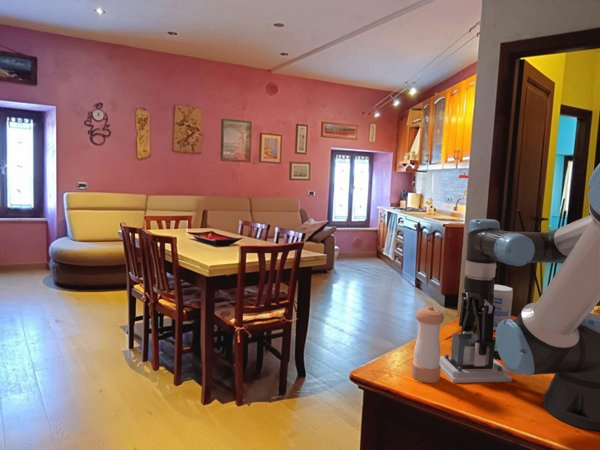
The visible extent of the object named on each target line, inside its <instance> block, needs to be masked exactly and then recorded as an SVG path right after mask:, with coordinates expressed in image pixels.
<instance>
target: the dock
mask: <svg viewBox="0 0 600 450" xmlns="http://www.w3.org/2000/svg"><path fill="white" fill-rule="evenodd" d="M439 364H440V366H441V369H440V371H442V372H443V374H445V376H446V377H447V378H448V379H449V380H450V381H451V382H452V383H454V384H455V383H457V384H458V383H503V382H504V383H507V382H508V383H509V382H510V383H511V382H512V381H513V377H511V376H510V372H511V371H510V370H509V369H508V368H507V367H506V366H505V365H504V364H503V365H502V364H501V363H500V362H499V361H497V360H496V358H494V361H493V369H462V367H460V366H459V367H458V369H456V368H455V367H454V366H453V365H452V364H451V356H450V355H449V354H444V356H443V355H440V362H439Z"/></svg>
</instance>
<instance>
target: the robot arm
mask: <svg viewBox="0 0 600 450" xmlns="http://www.w3.org/2000/svg"><path fill="white" fill-rule="evenodd" d="M588 188H590V190H589V191H588V192H587V197H588V202H589V204H590V205H589V207H588V212H589V215H586V216H585V217H582V218H580V219H577V220H575V221H572V222H570V223H569V224H566V225H563V226H561V227H559V228H557V229H554V230H551V231H548V232H546V231H544V232H542V231H539V232H538V231H534V232H533V231H531V232H530V231H508V230H507V231H506V230H501V228H500V222H499V221H498V220H497V219H492V218H491V219H489V218H472V219H470V221H469V225H468V230H467V231H468V232H467V238H466V239H467V240H466V242H467V243H466V254H465V255H466V259H465V266H464V267H465V268H464V275H465V276H464V282H463V289H464V291H465V290H466V291H468V293H465V292H462V293H461V306H460V312H459V320H458V326H459V327H462V331H463V334H473V332H470V331H474V329H473V324H474V321H475V317H476V323H477V335H478V341H475V342H476V345H475V357H474V366H485V360H486V350H487V343H493V338H494V330H493V327H494V312H495V306H494V305H490V304H489V295H490V294H492V293H493V292H494V284H495V282H496V281H495V279H494V278H495V277H496V269H497V261H498V262H501V263H503V264H505V265H509V266H515V267H522V266H524V265H527V264H531V263H532V264H534V263H538V264H539V263H540V264H541V263H543V264H544V263H546V264H547V263H549V264H550V263H551V264H555V263H556V264H561V266H560V267H559V269H558V270H557V272H556V273H555V274H554V276H553V278H552V279H551V280H550V282H549V284H548V285H547V287H546V288H545V290H544V291H543V292H542V294H541V295H540V297H539V298H538V300H537V301H536V302H531V303H530V302H529V303H528V304H526V305H525V306H524V307H523V308H522V310H521V311H520V313H519V314H518V315H517V317H515V318H514V319H512V318H510V319H507V320H503V321H501V322H500V323H499V325H498V327H497V330H496V331H495V340H496V344H497V349H498V353H499V355H500V358H501V359H500V360H501V361H502V363H503V366H504V367H505V368H506V369H508V370H509V371H510V372H511V373H514V374H516V375H521V376H522V375H526V376H530V377H531V376H533V375H534V376H536V375H552V374H553V378H552V379H551V382H550V383H549V385H548V387H547V390H546V391H545V392H544V395H543V402H542V403H543V404H542V405H543V407H544V409H545V410H546V411H547V412H548V413H549V414H550V415H551V416H553V417H554V418H556V419H558V420H560V421H562V422H563V423H566V424H569V425H572V426H574V427H578V428H581V429H584V430H590V431H596V432H600V315H598V314H595V313H592V311H593V309H594V308H595V307H596V305H598V303H599V302H600V163H598V165H597V166H596V167H595V169H594V170H593V171H592V174H591V175H590V178H589V182H588ZM495 285H496V284H495ZM478 312H482V313H478Z"/></svg>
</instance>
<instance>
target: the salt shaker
mask: <svg viewBox="0 0 600 450" xmlns="http://www.w3.org/2000/svg"><path fill="white" fill-rule="evenodd" d="M415 317H416V320H417V322H418V326H417V338H416V342H415V346H414V349H413V361H412V363H411V377H412V378H413V379H415V380H416V381H418V382H422V383H427V384H429V383H430V384H434V383H437V382H439V381H440V380H441V366H440V364H439V362H440V356H441V344H440V332H441V331H440V330H441V324H442V323H443V322H444V320H445V316H444V314H443V312H442V311H441V310H439V309H437V308H435V307H434V306H432V305H428V306H426V307H421V308H419V309H418V310H417V311H416V314H415Z"/></svg>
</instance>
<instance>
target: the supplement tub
mask: <svg viewBox="0 0 600 450" xmlns="http://www.w3.org/2000/svg"><path fill="white" fill-rule="evenodd" d="M513 290H514V289H513V288H512V287H509V286H507V285H501V284H494V299H493V305H494V306H495V312H494V327H493V331H495V332H496V330H497V327H498V325H499V323H500V322H501V321H503V320H507V319H511V317H512V316H511V314H512V305H513V304H512V303H513V297H514V296H513V295H514V291H513Z"/></svg>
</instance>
